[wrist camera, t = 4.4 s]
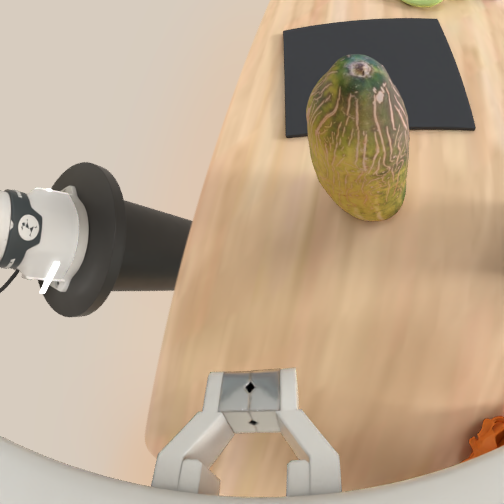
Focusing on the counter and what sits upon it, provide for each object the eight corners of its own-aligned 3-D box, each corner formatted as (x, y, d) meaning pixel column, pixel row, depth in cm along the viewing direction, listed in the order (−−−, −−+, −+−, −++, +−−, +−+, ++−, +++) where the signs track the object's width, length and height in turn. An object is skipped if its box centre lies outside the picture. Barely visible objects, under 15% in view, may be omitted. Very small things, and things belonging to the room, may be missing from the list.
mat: (287, 138, 31) (285, 136, 31) (284, 33, 33) (282, 30, 32) (474, 130, 23) (475, 128, 23) (437, 21, 25) (437, 18, 24)
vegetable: (353, 242, 28) (292, 166, 10) (326, 183, 29) (232, 49, 11) (411, 215, 26) (453, 94, 7) (381, 157, 27) (357, -8, 9)
